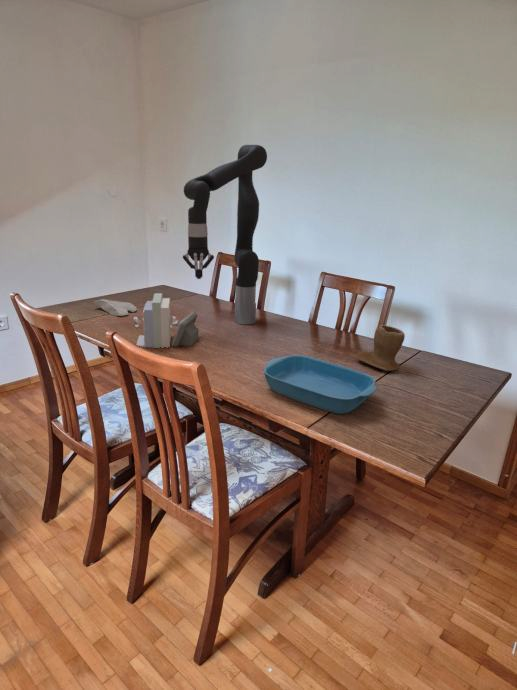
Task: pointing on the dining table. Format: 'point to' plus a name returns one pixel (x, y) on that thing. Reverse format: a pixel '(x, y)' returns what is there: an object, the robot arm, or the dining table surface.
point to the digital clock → (186, 331)
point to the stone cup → (384, 348)
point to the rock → (115, 307)
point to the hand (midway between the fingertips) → (198, 278)
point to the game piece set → (142, 319)
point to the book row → (156, 323)
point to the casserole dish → (319, 383)
